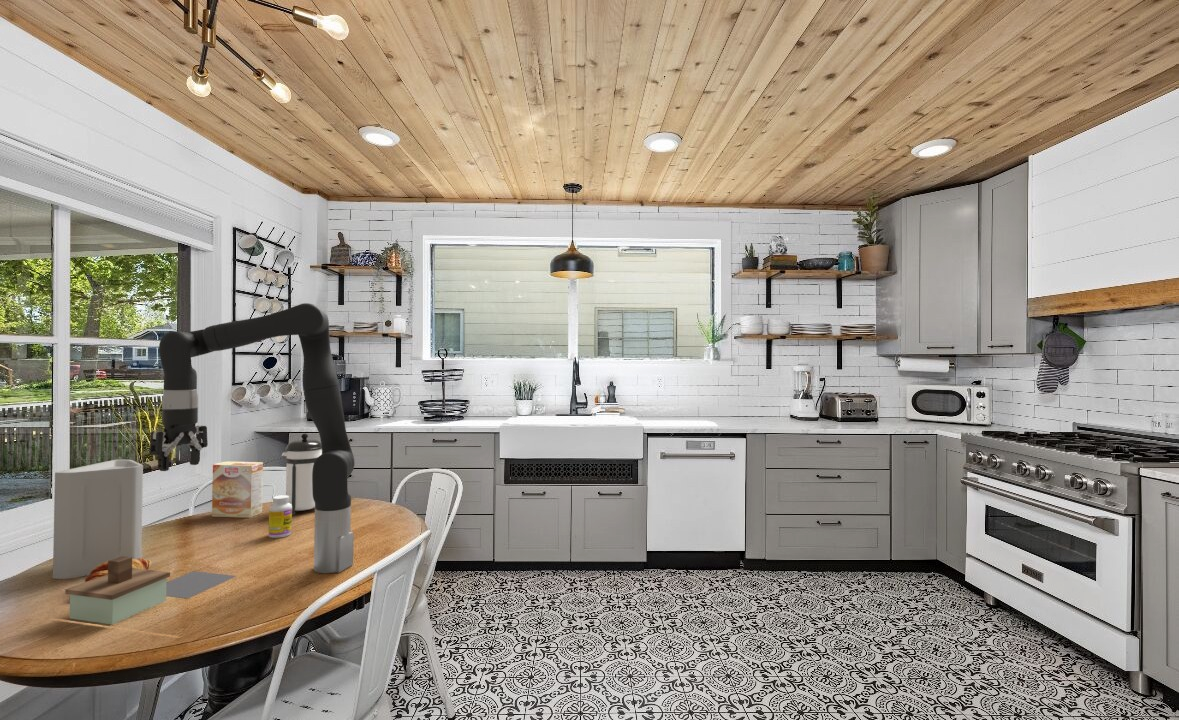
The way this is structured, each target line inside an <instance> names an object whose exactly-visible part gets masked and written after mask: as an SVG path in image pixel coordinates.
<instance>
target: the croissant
mask: <svg viewBox="0 0 1179 720" xmlns="http://www.w3.org/2000/svg"><path fill="white" fill-rule="evenodd" d="M151 565H152V561H151V559H145V558H142V557H141V558H138V559H132V568H137V569H145V570H149V568H150V567H151ZM107 574H108V561H107V562H105V563H102V564H100V565H98V566H97V567H96V568H94V569H93V570H92V571H91V573H90V575H87V577H86V578H85V579H84V582H83V583H85V582H87V581H90V580H93V579H96V578H99V577H101V576H104V575H107Z"/></svg>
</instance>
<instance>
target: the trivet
mask: <svg viewBox="0 0 1179 720" xmlns="http://www.w3.org/2000/svg"><path fill="white" fill-rule="evenodd" d="M235 577H237V575H232V574H231V575H229V574H222V573H213V572H205V571H198V570H197V571H196V570H192V571H190V572H187V573H186V574H183V575H180V576H178V577H176V578H172V579H170V580H169V581H166V597H172V598H178V599H179V598H180V599H188V600H189V599H190V598H192V597H194V596H196V595H199V594H201V593H203V592H205V591H207V590H209V589H212V588H214V587H216V586H218V585H220V584H223V583H225V582H227V581H229V580H232V579H234V578H235Z"/></svg>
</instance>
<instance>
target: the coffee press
mask: <svg viewBox="0 0 1179 720" xmlns="http://www.w3.org/2000/svg"><path fill="white" fill-rule="evenodd" d="M308 437H309V435H308V434H307V433H302V434H301V438H302V439H296V440H292V441H290V442H289V443H288V444H287V446H286V447H285V450H284V451H283V452H282V454H281V457H285V463H286V467H285V471H286V473H285V476H286V477H285V478H286V479H285V495H287V496H289V501H288V503H290V504H291V505H292V517H294V516H296V513H297V512H299V511H306V510H307V511H308V510H312V509H314V510H315V502H314V499H313V491H312V470H313V465H314V462H315V460H316V459H317V458H318V457H319V456H320V455H322V446H321V441H319V440H318V439H312V438H310V439H309V438H308Z"/></svg>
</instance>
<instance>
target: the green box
mask: <svg viewBox="0 0 1179 720" xmlns="http://www.w3.org/2000/svg"><path fill="white" fill-rule="evenodd" d="M166 582H167V578H165V579H163V580H160V581H158V582H155V583H153V584H150V585H148V586H145V587H143V588H140V589H138V590H135V591H133V592H130V593H128V594H125V595H123V596H121V597H118V598H116V599H113V600H108V599H101V598H93V597H86V596H78V595H71V594H69V620H72V621H75V620H76V621H77V620H79V622H81V623H82V621H83V622H86V623H88V624H89V622H90V623H93V624H96V623H97V624H100V625H102V626H103V624H104V625H106V624H107V626H109V627H110V625H115V624H117V623H119V622H121V621H123V620H126V619H127V618H130V617H133V616H134V615H137V614H139V613H141V612H144V611H146V610H149V609H150V608H152V607H153V608H154V606H155V607H156V606H157V605H160V604H161V603H164V602H166V601H167V596H166Z"/></svg>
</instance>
